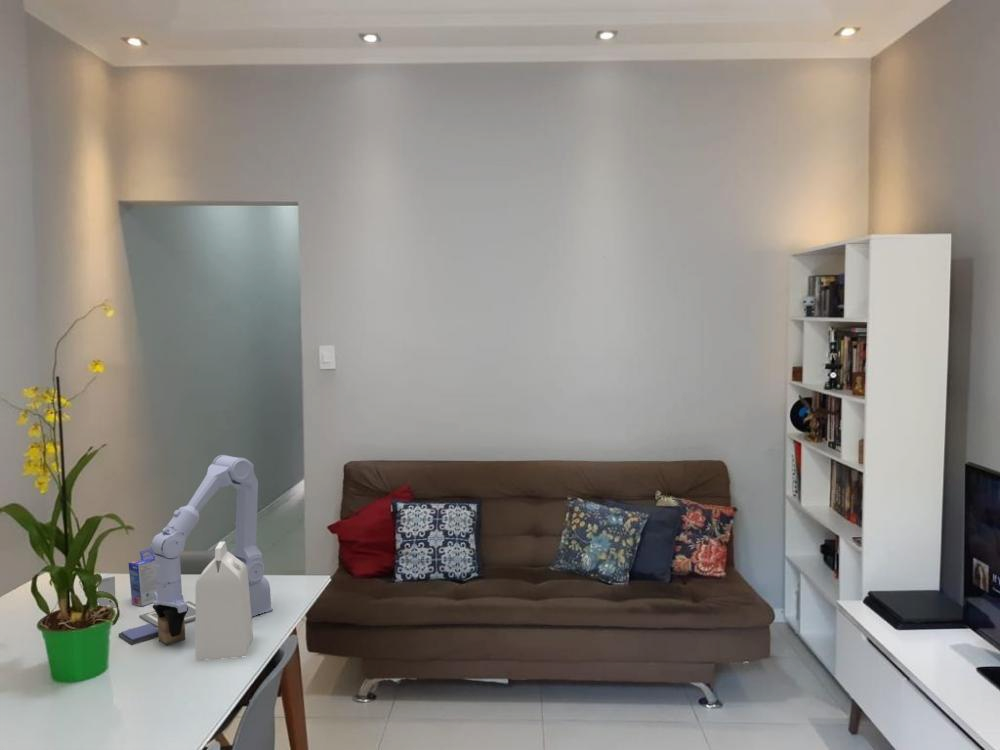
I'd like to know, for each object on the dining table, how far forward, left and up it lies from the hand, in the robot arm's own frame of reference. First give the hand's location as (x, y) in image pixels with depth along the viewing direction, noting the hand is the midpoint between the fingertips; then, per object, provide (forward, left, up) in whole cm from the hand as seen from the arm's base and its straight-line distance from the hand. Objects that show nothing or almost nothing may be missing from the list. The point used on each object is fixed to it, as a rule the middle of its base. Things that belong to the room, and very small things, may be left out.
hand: (171, 633), depth 200 cm
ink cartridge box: (-9, -33, -2) cm, 34 cm away
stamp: (0, 0, -2) cm, 2 cm away
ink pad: (+4, -9, -2) cm, 10 cm away
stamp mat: (-8, -15, -2) cm, 17 cm away
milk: (-7, +15, -2) cm, 16 cm away
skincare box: (+6, -28, -2) cm, 29 cm away
